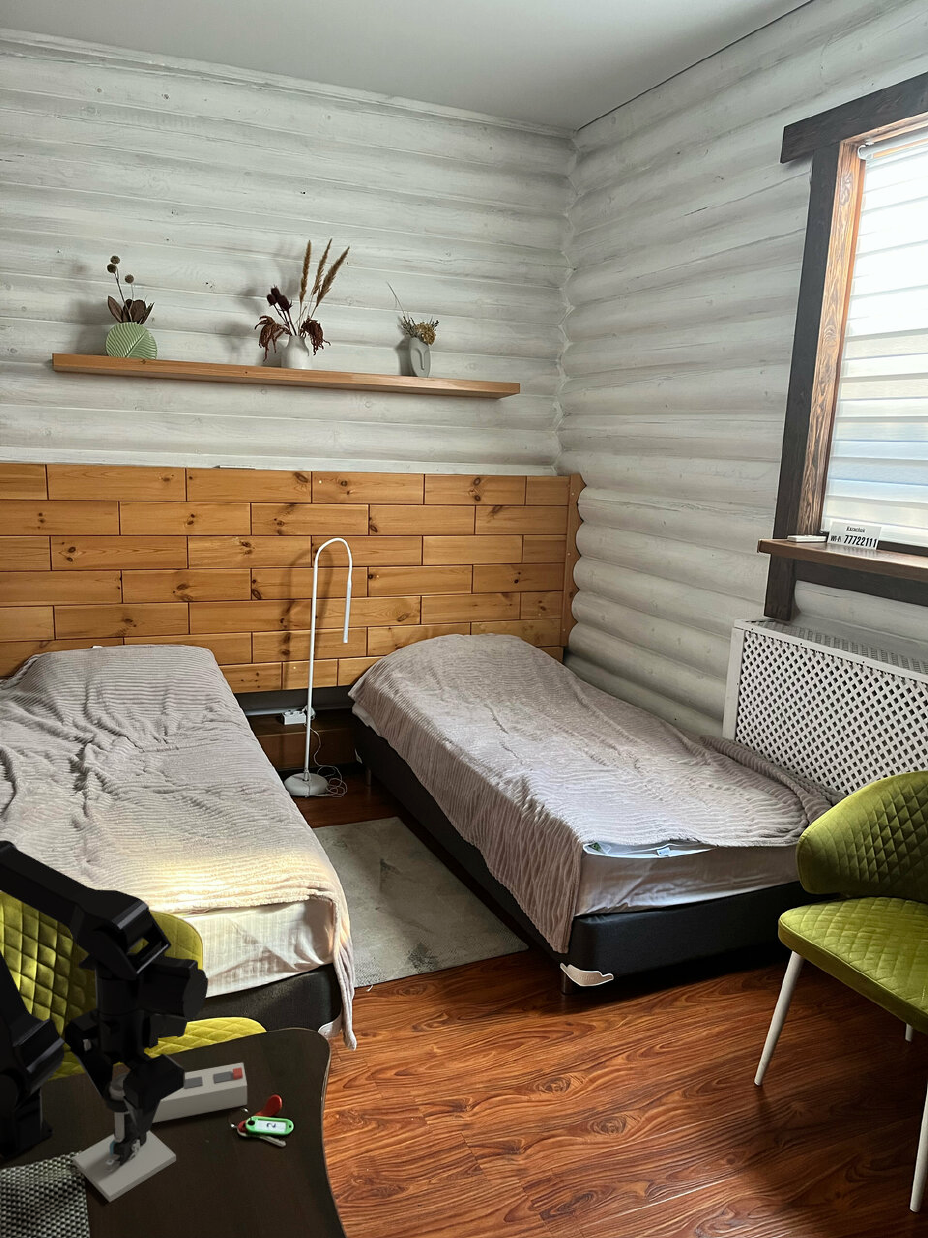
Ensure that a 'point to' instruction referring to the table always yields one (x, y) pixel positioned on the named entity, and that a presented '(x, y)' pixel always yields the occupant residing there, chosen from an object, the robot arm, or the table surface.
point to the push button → (121, 1125)
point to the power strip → (205, 1093)
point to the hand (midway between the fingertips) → (124, 1114)
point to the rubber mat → (127, 1175)
